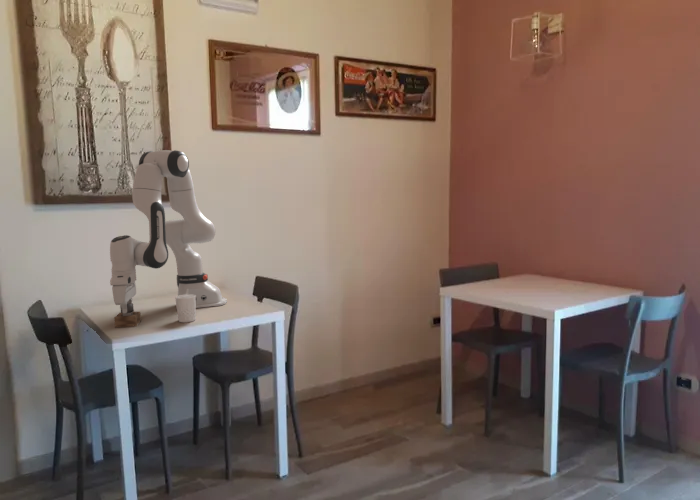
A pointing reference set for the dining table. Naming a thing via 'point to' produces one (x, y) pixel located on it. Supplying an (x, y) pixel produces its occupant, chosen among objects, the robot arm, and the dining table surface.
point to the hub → (127, 320)
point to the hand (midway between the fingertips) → (127, 311)
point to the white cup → (186, 307)
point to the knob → (130, 309)
